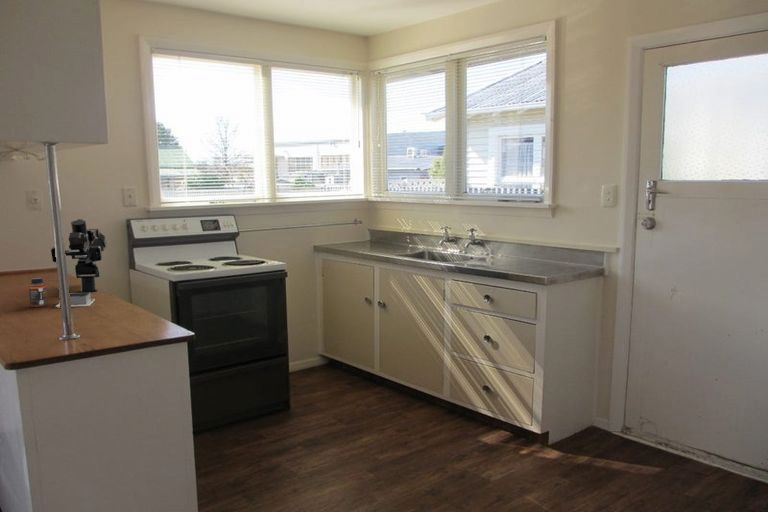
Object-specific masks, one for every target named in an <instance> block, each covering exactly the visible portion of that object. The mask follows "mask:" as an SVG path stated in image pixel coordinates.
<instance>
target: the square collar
mask: <svg viewBox="0 0 768 512" xmlns="http://www.w3.org/2000/svg"><path fill="white" fill-rule="evenodd" d="M58 301H59V303H58V304H56V305H55V308H56V307H57V308H61V307H60V300H58ZM70 301H71V307H70V308H72V307H74V308H75V307H89V306H91V305H92V304H93V302H95V298H92V297H91V292H70Z"/></svg>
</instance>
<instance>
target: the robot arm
mask: <svg viewBox="0 0 768 512" xmlns="http://www.w3.org/2000/svg"><path fill="white" fill-rule="evenodd" d="M70 225H71V232H70V233H69V235H68V242H69V245H68V249H64V250H65V254H66V256H67V257H68V256H70V257H71V259H72V260H77V263H76V264H75V266H74V267H75V268H74V269H75V270H74V271H75V276H76V279H80V286H81V288H79V289H80V293H85V292H90V293H91V292H97V291H98V289H97V287H96V286H97V285H96V279H98V278H99V277H100V271H99V267H98V264H97V263H96V262H99V261H102V259H103V255H102V254H103V253H102V252H104V251H105V250H106V248H107V239H106V236H105V234H103V233H101V232H100V229H98V228H88V227H87V222H86V220H84V219H83V218H79V219H76V220H73V221H70ZM54 247H55V246H52V248H51V249H50V252H51V259H52V262H53V263H57V262H56V257H55V248H54Z"/></svg>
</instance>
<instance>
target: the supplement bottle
mask: <svg viewBox="0 0 768 512" xmlns="http://www.w3.org/2000/svg"><path fill="white" fill-rule="evenodd" d="M28 294H29V295H28V296H29V306H30V307H31V308H42V307H47V305H48V298H47V285H46V283H45V282H44V280H43V277H31V279H30V284H29V285H28Z"/></svg>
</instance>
